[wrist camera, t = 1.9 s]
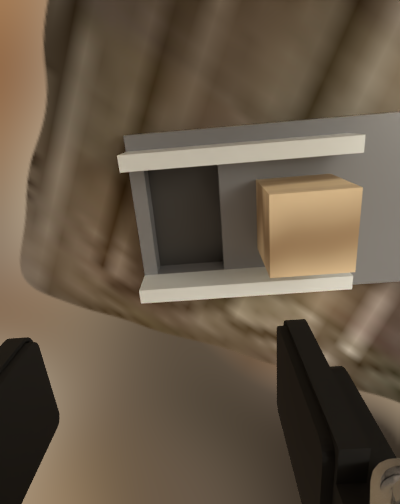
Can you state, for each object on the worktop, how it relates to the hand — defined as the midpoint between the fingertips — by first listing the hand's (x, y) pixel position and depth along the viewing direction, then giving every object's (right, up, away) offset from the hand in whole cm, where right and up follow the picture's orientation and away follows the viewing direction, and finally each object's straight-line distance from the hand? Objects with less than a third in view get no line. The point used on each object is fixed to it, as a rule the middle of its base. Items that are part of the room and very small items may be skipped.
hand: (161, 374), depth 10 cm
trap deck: (+9, +7, +16) cm, 20 cm away
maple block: (+8, +6, +14) cm, 17 cm away
